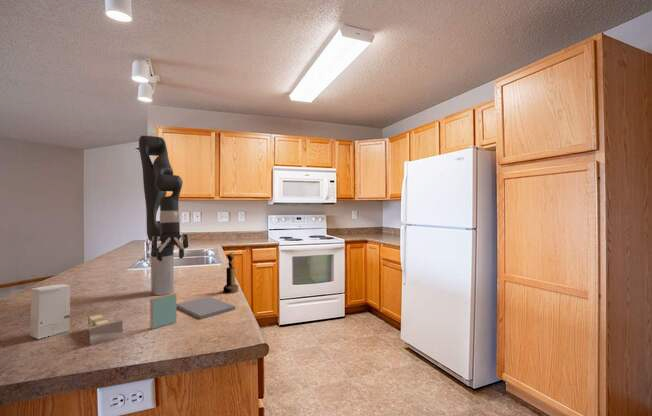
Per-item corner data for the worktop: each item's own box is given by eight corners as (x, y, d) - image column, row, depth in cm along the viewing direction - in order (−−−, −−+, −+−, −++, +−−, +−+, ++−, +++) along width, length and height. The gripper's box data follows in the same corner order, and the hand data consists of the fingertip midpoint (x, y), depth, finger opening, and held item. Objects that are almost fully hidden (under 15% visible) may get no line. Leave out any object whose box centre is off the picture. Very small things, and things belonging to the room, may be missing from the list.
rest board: (176, 307, 123) (176, 304, 123) (209, 299, 134) (209, 296, 134) (200, 319, 110) (200, 315, 110) (235, 309, 121) (235, 306, 121)
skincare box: (37, 340, 93) (37, 290, 93) (29, 336, 96) (29, 288, 96) (71, 330, 100) (71, 284, 100) (62, 327, 103) (62, 282, 103)
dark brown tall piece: (232, 288, 151) (232, 251, 151) (240, 291, 147) (240, 252, 147) (220, 291, 146) (220, 253, 146) (228, 294, 142) (228, 254, 142)
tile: (150, 328, 102) (149, 298, 102) (174, 321, 108) (174, 292, 108) (151, 329, 101) (151, 299, 101) (176, 322, 107) (176, 293, 107)
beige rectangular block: (78, 332, 99) (78, 316, 99) (108, 324, 105) (108, 310, 105) (90, 345, 90) (90, 328, 90) (122, 337, 96) (122, 320, 96)
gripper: (182, 221, 140) (183, 257, 140) (148, 222, 130) (149, 261, 129) (190, 220, 136) (191, 258, 135) (155, 222, 125) (156, 262, 124)
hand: (170, 259), depth 132 cm, fingers open, 8 cm apart
